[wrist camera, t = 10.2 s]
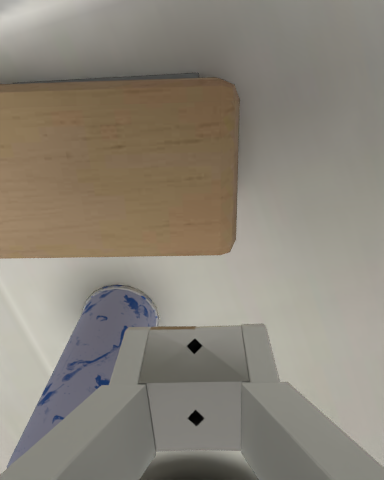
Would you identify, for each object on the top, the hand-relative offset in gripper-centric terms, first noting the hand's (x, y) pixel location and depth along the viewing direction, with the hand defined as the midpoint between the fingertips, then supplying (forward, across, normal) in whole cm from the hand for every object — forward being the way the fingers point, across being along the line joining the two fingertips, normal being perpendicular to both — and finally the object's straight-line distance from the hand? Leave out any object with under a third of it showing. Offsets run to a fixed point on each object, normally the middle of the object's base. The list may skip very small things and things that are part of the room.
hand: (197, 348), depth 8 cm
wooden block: (+18, -2, 0) cm, 18 cm away
